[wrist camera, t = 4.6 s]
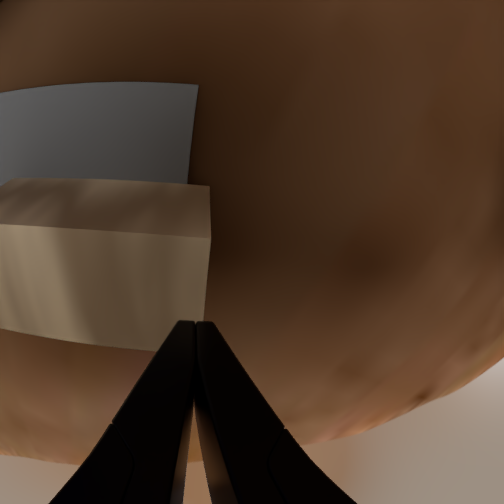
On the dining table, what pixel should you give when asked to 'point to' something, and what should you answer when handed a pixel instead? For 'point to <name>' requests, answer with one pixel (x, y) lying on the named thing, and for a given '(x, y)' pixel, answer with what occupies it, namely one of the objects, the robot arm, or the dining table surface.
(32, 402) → the dining table surface
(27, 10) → the dining table surface
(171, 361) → the robot arm
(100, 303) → the pillar
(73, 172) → the mat
